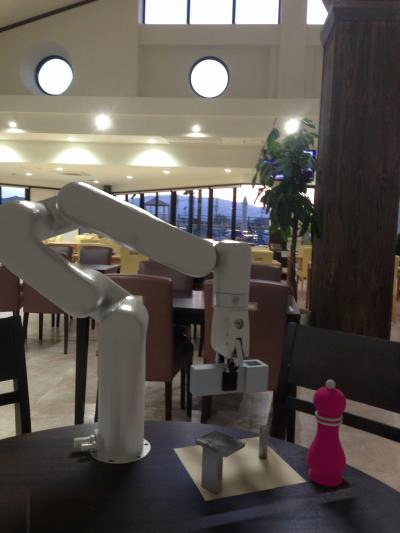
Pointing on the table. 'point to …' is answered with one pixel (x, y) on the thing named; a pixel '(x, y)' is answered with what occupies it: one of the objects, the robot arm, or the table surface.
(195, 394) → the link
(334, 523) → the table surface
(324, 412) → the pepper mill
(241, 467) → the base board
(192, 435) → the table surface
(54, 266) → the robot arm
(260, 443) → the post
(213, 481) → the block
